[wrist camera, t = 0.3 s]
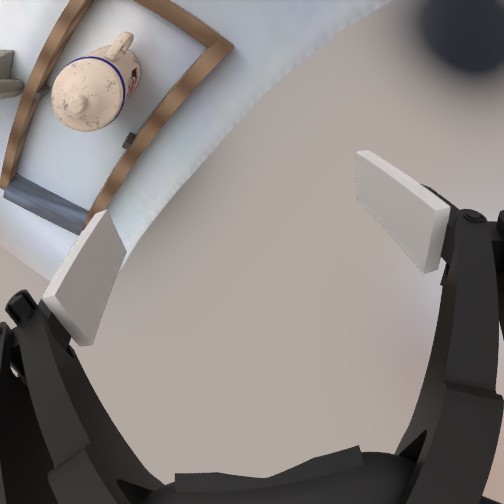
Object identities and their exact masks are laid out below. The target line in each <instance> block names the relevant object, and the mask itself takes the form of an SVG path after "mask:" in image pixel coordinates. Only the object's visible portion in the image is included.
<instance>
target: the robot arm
mask: <svg viewBox="0 0 504 504" xmlns="http://www.w3.org/2000/svg"><path fill="white" fill-rule="evenodd" d="M355 159H356V179H357V200H358V201H359V202H360V203H361V204H362V205H363V206H364V207H365V208H366V209H367V210H368V211H369V212H370V213H371V215H373V217H374V218H375V219H377V221H378V222H379V223H380V224H381V225H382V226H383V228H384V229H385V230H386V231H387V232H388V233H389V234H390V235H391V237H392V238H393V239H394V240H395V241H396V242H397V243H398V245H399V246H400V247H401V248H402V249H403V250H404V252H405V253H406V254H407V255H408V256H409V258H410V259H411V260H412V261H413V263H414V264H415V265H416V266H417V267H418V269H419V270H420V271H421V272H422V274H426V273H428V272H432V271H434V270H437V269H438V267H439V263H440V258H441V257H442V258H443V259H444V260H445V262H446V266H445V270H444V273H443V277H442V281H441V284H440V285H442V286H443V288H442V295H441V303H440V309H439V316H438V321H437V326H436V332H435V337H434V341H433V346H432V351H431V355H430V359H429V363H428V367H427V371H426V374H425V378H424V382H423V385H422V389H421V392H420V396H419V398H418V402H417V404H416V407H415V410H414V413H413V416H412V419H411V422H410V425H409V426H408V428H407V430H406V432H405V434H404V436H403V438H402V439H401V441H400V443H399V445H398V448H397V450H396V452H395V454H390V453H382V452H361V451H360V448H359V445H358V446H355V447H352V448H348V449H345V450H342V451H338V452H335V453H331V454H328V455H324V456H320V457H315V458H313V459H310V460H308V461H306V462H304V463H302V464H300V465H297V466H295V467H293V468H291V469H288V470H286V471H284V472H281V473H279V474H276V475H274V476H271V477H268V478H254V477H245V476H237V475H229V474H224V473H218V472H216V473H187V474H185V473H183V474H181V473H180V474H179V473H175V482H172V483H170V484H167V485H164V484H163V483H162V482H161V481H159V480H158V479H157V478H155V477H154V476H153V475H152V474H150V473H149V472H148V471H147V470H146V468H145V467H144V466H143V465H142V463H141V462H140V461H139V459H138V458H137V457H136V455H135V454H134V453H133V451H132V450H131V448H130V447H129V446H128V444H127V443H126V441H125V440H124V438H123V437H122V435H121V434H120V432H119V431H118V429H117V428H116V426H115V425H114V423H113V422H112V420H111V418H110V417H109V415H108V413H107V412H106V410H105V409H104V407H103V405H102V403H101V402H100V400H99V398H98V396H97V395H96V393H95V391H94V389H93V387H92V385H91V384H90V382H89V380H88V378H87V376H86V374H85V372H84V370H83V368H82V366H81V364H80V362H79V360H78V358H77V355H76V353H75V351H74V349H73V348H72V347H71V346H70V345H69V342H70V339H71V337H72V338H73V340H74V341H75V342H76V343H77V344H78V345H79V346H88V345H93V343H94V340H95V337H96V333H97V330H98V327H99V324H100V321H101V318H102V315H103V312H104V309H105V307H106V304H107V301H108V298H109V295H110V293H111V290H112V287H113V285H114V282H115V279H116V277H117V274H118V272H119V269H120V267H121V264H122V262H123V259H124V257H125V255H126V252H127V251H126V249H125V247H124V245H123V243H122V241H121V239H120V237H119V234H118V232H117V230H116V228H115V226H114V224H113V221H112V219H111V217H110V215H109V213H108V210H104V211H101V212H98V213H96V214H95V215H94V216H93V218H92V219H91V221H90V222H89V223H88V225H87V226H86V228H85V229H84V230H83V232H82V233H81V235H80V236H79V238H78V239H77V241H76V242H75V244H74V245H73V247H72V248H71V250H70V251H69V253H68V254H67V256H66V257H65V259H64V261H63V262H62V264H61V265H60V267H59V269H58V270H57V272H56V274H55V275H54V277H53V279H52V280H51V282H50V284H49V286H48V288H47V289H46V291H45V293H44V295H43V296H42V298H41V300H40V302H39V304H38V305H37V304H36V302H35V301H34V300H33V298H32V297H31V295H30V294H29V293H28V291H27V290H21V291H19V292H17V293H16V294H15V295H14V296H13V297H12V298H11V299H10V300H9V302H8V303H7V305H6V308H5V311H6V312H7V313H8V314H9V316H10V317H11V318H12V319H13V321H14V322H15V323H16V325H17V327H15V328H13V329H10V327H9V326H8V325H7V324H6V323H5V322H1V323H0V504H501V503H499V502H496V501H494V500H491V499H489V498H486V497H484V496H482V494H483V491H484V488H485V485H486V482H487V479H488V476H489V473H490V470H491V466H492V462H493V459H494V455H495V451H496V446H497V443H498V438H499V433H500V427H501V423H502V417H503V410H504V400H503V397H502V395H499V394H496V391H495V388H496V377H497V365H498V347H499V322H500V326H501V330H502V335H503V339H504V210H502V211H500V213H499V216H498V221H497V222H492V221H490V222H488V221H487V219H486V218H485V217H484V216H483V215H482V214H481V213H479V212H477V211H474V210H471V209H461V210H459V209H458V208H456V207H455V206H454V205H453V204H451V203H450V202H449V201H447V200H446V199H445V198H443V197H442V196H441V195H439V194H437V192H435V191H434V190H433V189H431V188H430V187H427V186H425V185H423V184H419V183H418V182H417V181H415V180H414V179H412V178H411V177H409V176H408V175H406V174H405V173H404V172H402V171H400V170H399V169H398V168H396V167H394V166H393V165H391V164H390V163H388V162H387V161H385V160H384V159H382V158H380V157H378V156H377V155H375V154H374V153H372V152H370V151H369V150H364V151H357V152H355ZM10 366H11V367H12V368H13V369H14V370H15V371H16V372H17V373H18V377H16V376H15V375H14V374H13V372H12V370H11V367H10ZM54 466H55V467H54Z"/></svg>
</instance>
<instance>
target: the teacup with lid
mask: <svg viewBox="0 0 504 504" xmlns="http://www.w3.org/2000/svg"><path fill="white" fill-rule="evenodd" d="M133 38H134V35H133V34H132V33H130V32H124V33H123V34H121V35H120V36H119V37H118V38H117V40H116V41H115V42H114V43H113V45H110V46H105V47H101V48H99V49H97V50H95V51H93V52H92V53H90V54H88V55H86V56H84V57H82V58H79V59H76V60H74V61H72V62H70V63H69V64H68V65H66V66H65V67H64V68H63V69H62V70H61V71H60V73H59V74H58V76H57V78H56V80H55V82H54V85H53V88H52V105H53V109H54V111H55V113H56V115H57V117H58V118H59V119H60V120H61V121H62V122H63V123H64V124H65V125H66V126H68V127H70V128H72V129H74V130H78V131H94V130H98V129H100V128H103V127H105V126H107V125H108V124H110V123H111V122H112V121H113V120H114V119H115V118H116V117H117V116H118V114H119V113H120V111H121V109H122V107H123V104H124V103H125V101H126V100H127V99H128V97H129V96H130V95H131V94H132V92H133V91H134V90H135V88H136V86H137V84H138V82H139V78H140V66H139V63H138V60H137V58H136V57H135V56H134V54H133V53H132V52H131V51H129V50H128V48H129V47H130V45H131V43H132V41H133Z"/></svg>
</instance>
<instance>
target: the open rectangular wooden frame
mask: <svg viewBox="0 0 504 504" xmlns="http://www.w3.org/2000/svg"><path fill="white" fill-rule="evenodd" d="M93 1H94V0H70V1H69V3H68V4H67V6H66V8H65V9H64V11H63V12H62V14H61V16H60V17H59V19H58V21H57V22H56V24H55V26H54V28H53V30H52V31H51V33H50V35H49V37H48V39H47V41H46V43H45V45H44V47H43V49H42V51H41V53H40V55H39V57H38V59H37V61H36V64H35V66H34V68H33V70H32V73H31V75H30V77H29V80H28V82H27V85H26V88H25V90H24V93H23V96H22V98H21V101H20V104H19V107H18V110H17V113H16V116H15V119H14V123H13V126H12V130H11V133H10V137H9V141H8V145H7V149H6V153H5V158H4V162H3V167H2V172H1V178H0V188H1V189H3V190H4V196H3V197H4V198H6V199H7V200H9V201H11V202H13V203H15V204H17V205H19V206H21V207H22V208H24V209H26V210H28V211H30V212H32V213H34V214H36V215H38V216H40V217H42V218H44V219H46V220H48V221H50V222H52V223H54V224H56V225H58V226H60V227H62V228H64V229H66V230H68V231H70V232H72V233H74V234H77V235H80V233H81V231H82V230H84V229H85V228H86V226H87V225H88V223H89V222H90V221H91V219H92V218H93V216H94V215H95V214H96V213H98V212H101V211H104V210H105V208H106V207H107V205H108V204H109V202H110V200H111V199H112V197H113V196H114V194H115V192H116V191H117V189H118V188H119V186H120V185H121V183H122V182H123V180H124V179H125V177H126V176H127V174H128V173H129V171H130V170H131V168H132V167H133V165H134V164H135V163H136V161H137V160H138V158H139V157H140V155H141V154H142V153H143V151H144V150H145V149H146V147H147V146H148V145H149V143H150V142H151V141H152V139H153V138H154V137H155V135H156V134H157V133H158V131H159V130H160V129H161V128H162V126H163V125H164V124H165V123H166V121H167V120H168V119H169V118H170V116H171V115H172V114H173V113H174V112H175V110H176V109H177V108H178V107H179V106H180V104H181V103H182V102H183V101H184V100H185V99H186V98H187V96H188V95H189V94H190V93H191V92H192V91H193V90H194V88H195V87H196V86H197V85H198V84H199V83H200V82H201V81H202V80H203V79H204V78H205V77H206V76H207V74H208V73H209V72H210V71H211V70H212V69H213V68H214V67H215V66H216V65H217V64H218V63H219V62H220V61H221V60H222V59H223V58H224V57H225V56H226V55H227V54H228V53H229V52H230V51H231V50H232V49H233V48H234V46H233V44H232V43H230V42H229V41H228V40H227V39H225V38H224V37H223V36H221V35H220V34H219V33H217V32H216V31H215V30H213V29H212V28H210V27H209V26H208V25H206V24H205V23H203V22H202V21H200V20H199V19H198V18H196V17H195V16H193V15H192V14H190V13H189V12H187V11H186V10H184V9H183V8H181V7H179V6H178V5H176V4H175V3H173V2H171V1H170V0H134V1H136V2H138V3H140V4H141V5H143V6H145V7H147V8H148V9H150V10H152V11H154V12H155V13H157V14H159V15H160V16H162V17H163V18H165V19H167V20H168V21H170V22H171V23H173V24H175V25H176V26H178V27H179V28H181V29H182V30H184V31H185V32H187V33H188V34H190V35H191V36H193V37H194V38H196V39H197V40H198V41H200V42H201V43H203V44H204V45H205V46H207V47H208V48H207V49H206V51H205V52H204V53H203V54H202V55H201V56H200V57H199V58H198V59H197V60H196V61H195V62H194V63H193V64H192V65H191V67H190V68H189V69H188V70H187V71H186V72H185V73H184V74H183V76H182V77H181V78H180V79H179V80H178V81H177V83H176V84H175V85H174V86H173V87H172V89H171V90H170V91H169V92H168V93H167V95H166V96H165V97H164V98H163V100H162V101H161V102H160V103H159V105H158V106H157V107H156V109H155V110H154V111H153V112H152V114H151V115H150V116H149V118H148V119H147V120H146V122H145V123H144V125H143V126H142V127H141V129H140V130H139V132H138V133H137V134H136V135H135V134H133V133H132V132H130V133H129V135H128V136H127V138H126V140H125V142H124V144H123V146H122V147H123V148H125V149H126V151H125V152H124V154H123V155H122V157H121V158H120V160H119V161H118V163H117V164H116V166H115V168H114V169H113V171H112V172H111V174H110V176H109V177H108V179H107V181H106V182H105V184H104V186H103V188H102V189H101V191H100V193H99V195H98V196H97V198H96V200H95V202H94V204H93V205H92V207H91V209H90V211H87V210H85V209H83V208H81V207H79V206H77V205H75V204H73V203H71V202H69V201H67V200H65V199H63V198H62V197H60V196H58V195H56V194H54V193H52V192H50V191H48V190H46V189H44V188H42V187H40V186H38V185H37V184H35V183H33V182H31V181H29V180H27V179H25V178H23V177H22V176H20V175H18V174H16V170H17V166H18V162H19V158H20V155H21V151H22V148H23V144H24V141H25V138H26V135H27V132H28V129H29V126H30V123H31V120H32V117H33V115H34V112H35V109H36V107H37V104H38V102H39V100H40V99H41V98H42V97H43V96H45V95H46V94H47V93H48V92H49V90H50V87H49V86H47V85H46V83H47V81H48V78H49V76H50V74H51V72H52V70H53V68H54V66H55V64H56V62H57V60H58V58H59V56H60V54H61V52H62V50H63V49H64V47H65V45H66V43H67V42H68V40H69V38H70V36H71V35H72V33H73V31H74V30H75V28H76V26H77V25H78V23H79V22H80V20H81V19H82V17H83V15H84V14H85V12H86V11H87V10H88V8H89V7H90V5H91V4H92V2H93Z"/></svg>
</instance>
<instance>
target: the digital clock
mask: <svg viewBox="0 0 504 504" xmlns="http://www.w3.org/2000/svg"><path fill="white" fill-rule="evenodd" d="M13 54H14V51H13V50H0V99H3V98H9V97H16V96H17V95H18V94H19V93H20V92H21V91H22V89H23V85H22V82H21V81H20V80H14V79H10V72H11V65H12V59H13Z"/></svg>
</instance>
